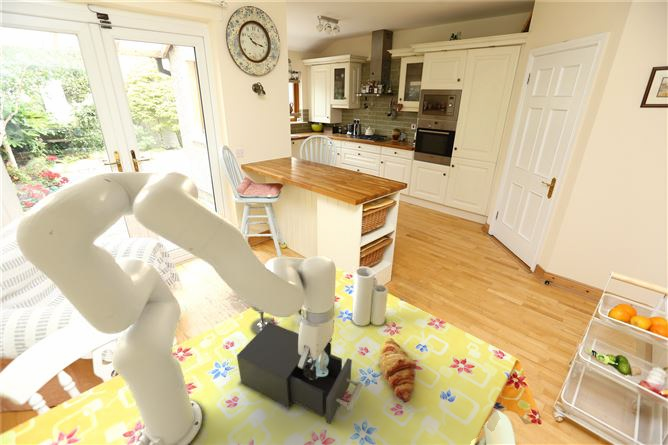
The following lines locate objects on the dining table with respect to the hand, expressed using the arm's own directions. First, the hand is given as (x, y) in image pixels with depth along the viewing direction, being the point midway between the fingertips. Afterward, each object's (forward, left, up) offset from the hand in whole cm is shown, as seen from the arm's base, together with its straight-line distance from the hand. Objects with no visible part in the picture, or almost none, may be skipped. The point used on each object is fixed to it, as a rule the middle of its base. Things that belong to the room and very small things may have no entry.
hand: (317, 364), depth 73 cm
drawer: (0, -2, -10) cm, 10 cm away
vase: (+33, -2, -11) cm, 35 cm away
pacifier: (0, 0, -2) cm, 2 cm away
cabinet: (0, +13, -11) cm, 17 cm away
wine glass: (+13, +29, -11) cm, 34 cm away
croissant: (+16, -17, -11) cm, 26 cm away
